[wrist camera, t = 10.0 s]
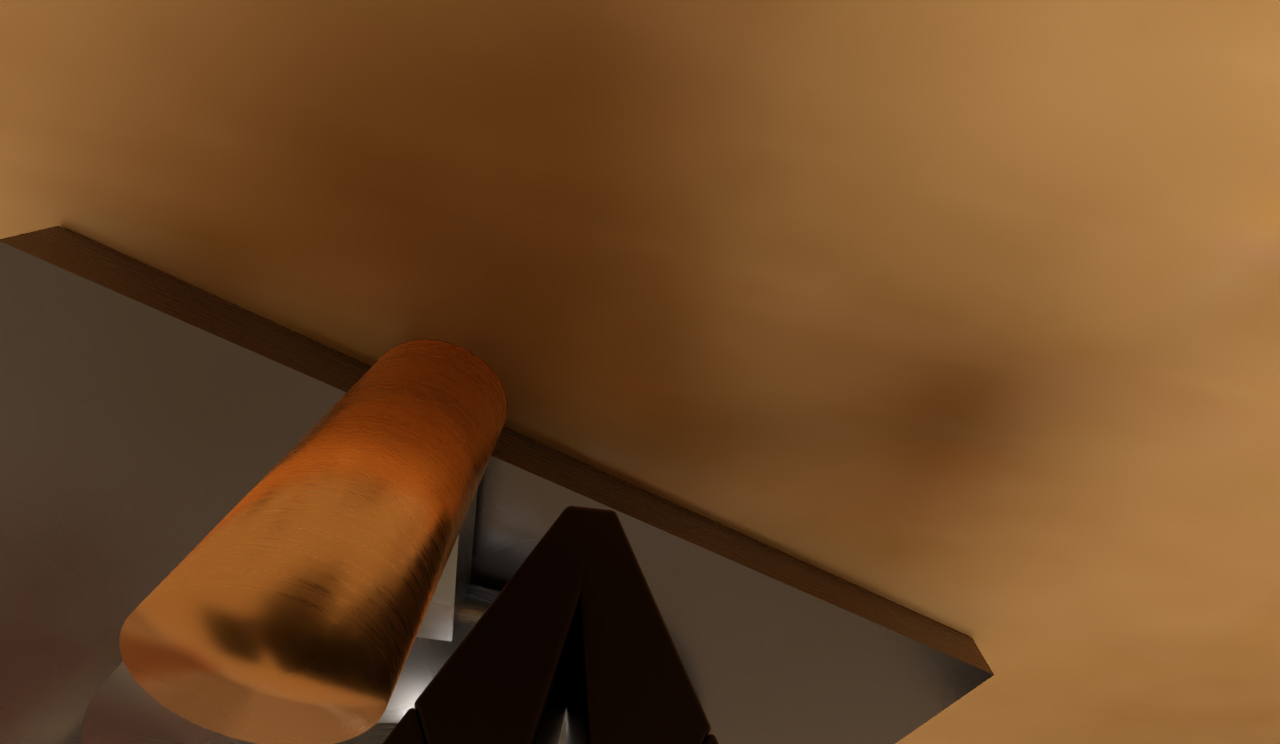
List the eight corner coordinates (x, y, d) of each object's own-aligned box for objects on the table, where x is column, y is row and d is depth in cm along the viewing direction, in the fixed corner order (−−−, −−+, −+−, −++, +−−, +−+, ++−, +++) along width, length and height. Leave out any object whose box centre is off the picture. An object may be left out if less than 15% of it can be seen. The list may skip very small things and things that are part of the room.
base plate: (972, 638, 14) (994, 674, 13) (594, 921, 23) (591, 954, 22) (57, 225, 9) (-3, 239, 8) (24, 788, 18) (-7, 823, 17)
